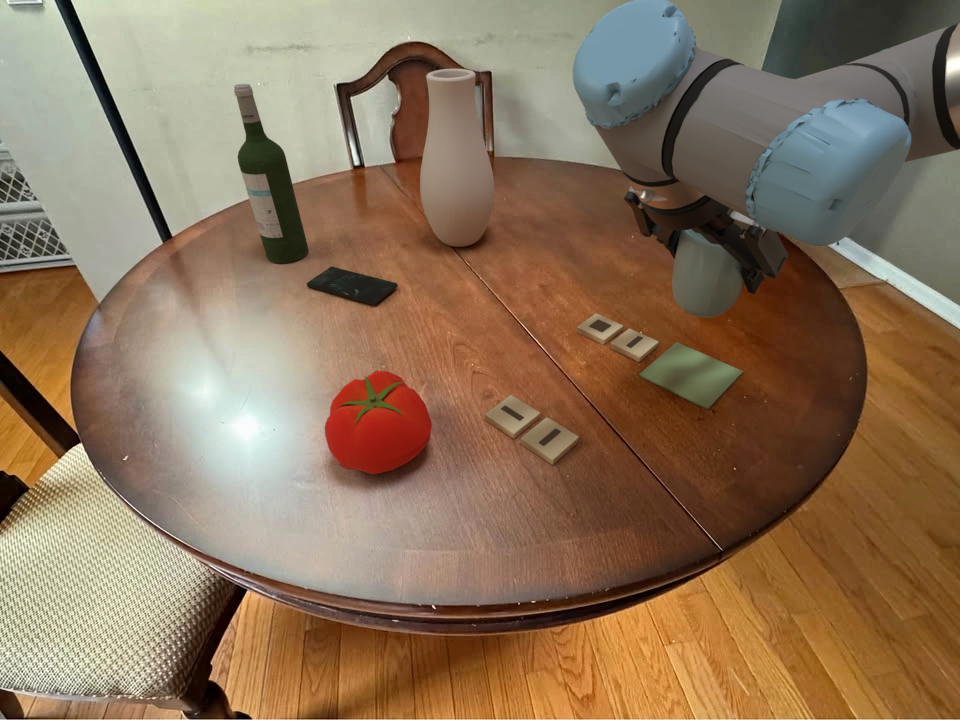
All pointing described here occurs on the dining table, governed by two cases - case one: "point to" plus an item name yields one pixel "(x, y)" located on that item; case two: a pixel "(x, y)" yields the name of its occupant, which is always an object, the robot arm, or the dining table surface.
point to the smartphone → (352, 285)
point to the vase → (455, 161)
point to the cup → (704, 276)
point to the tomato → (377, 424)
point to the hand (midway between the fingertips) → (720, 270)
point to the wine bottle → (269, 186)
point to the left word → (542, 438)
